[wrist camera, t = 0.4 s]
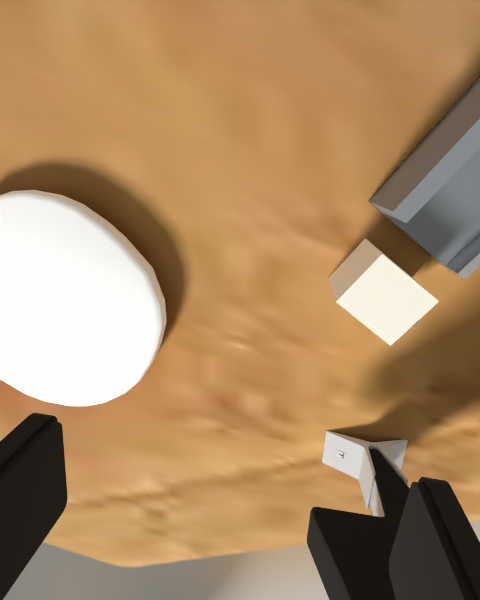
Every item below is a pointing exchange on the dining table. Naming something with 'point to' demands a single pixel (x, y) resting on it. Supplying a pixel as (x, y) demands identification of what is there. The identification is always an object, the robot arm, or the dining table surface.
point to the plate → (73, 302)
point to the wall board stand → (441, 189)
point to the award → (360, 520)
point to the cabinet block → (379, 292)
